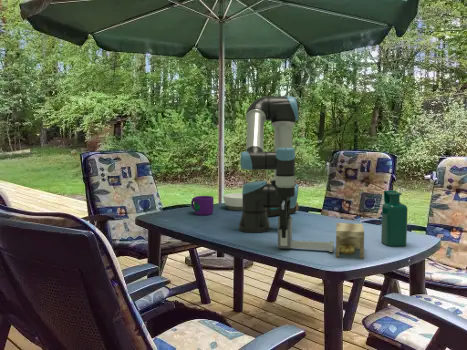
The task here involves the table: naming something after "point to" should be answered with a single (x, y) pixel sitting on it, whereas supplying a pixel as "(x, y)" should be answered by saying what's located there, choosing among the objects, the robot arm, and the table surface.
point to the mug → (203, 205)
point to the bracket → (302, 244)
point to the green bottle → (394, 220)
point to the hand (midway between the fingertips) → (284, 243)
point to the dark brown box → (277, 211)
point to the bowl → (234, 201)
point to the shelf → (350, 236)
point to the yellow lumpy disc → (346, 249)
